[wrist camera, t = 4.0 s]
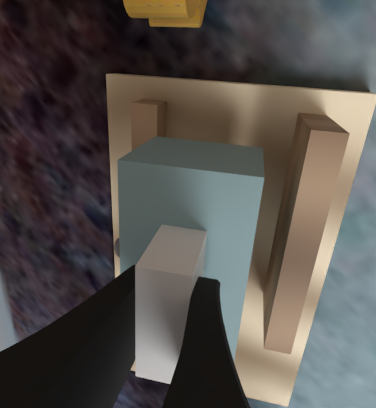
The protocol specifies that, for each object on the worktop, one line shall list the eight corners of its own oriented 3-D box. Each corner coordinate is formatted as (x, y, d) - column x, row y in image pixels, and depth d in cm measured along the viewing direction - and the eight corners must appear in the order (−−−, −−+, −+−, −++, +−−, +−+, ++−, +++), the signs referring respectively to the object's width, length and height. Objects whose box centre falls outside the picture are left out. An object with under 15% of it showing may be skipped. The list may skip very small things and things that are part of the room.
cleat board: (286, 393, 22) (292, 475, 18) (124, 356, 24) (93, 422, 20) (370, 92, 14) (422, 106, 10) (114, 73, 16) (58, 77, 12)
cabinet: (238, 305, 16) (225, 442, 10) (137, 286, 17) (71, 402, 11) (263, 147, 13) (266, 211, 7) (137, 134, 14) (45, 181, 8)
